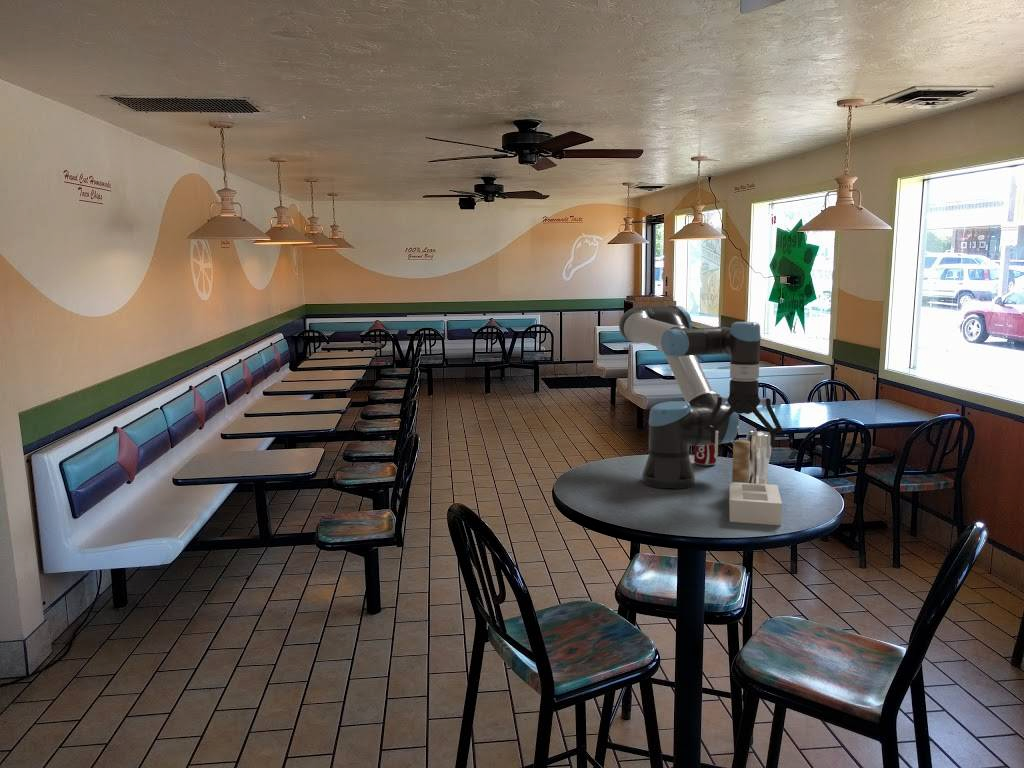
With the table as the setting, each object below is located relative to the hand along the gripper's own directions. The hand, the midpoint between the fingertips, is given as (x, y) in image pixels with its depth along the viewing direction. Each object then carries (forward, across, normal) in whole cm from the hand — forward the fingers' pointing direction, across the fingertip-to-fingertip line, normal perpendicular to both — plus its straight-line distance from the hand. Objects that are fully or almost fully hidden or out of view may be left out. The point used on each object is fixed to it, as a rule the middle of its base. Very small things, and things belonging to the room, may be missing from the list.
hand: (741, 456), depth 207 cm
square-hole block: (+11, +3, -16) cm, 19 cm away
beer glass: (+11, +5, +12) cm, 17 cm away
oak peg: (+11, 0, 0) cm, 11 cm away
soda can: (+11, -10, +32) cm, 36 cm away
